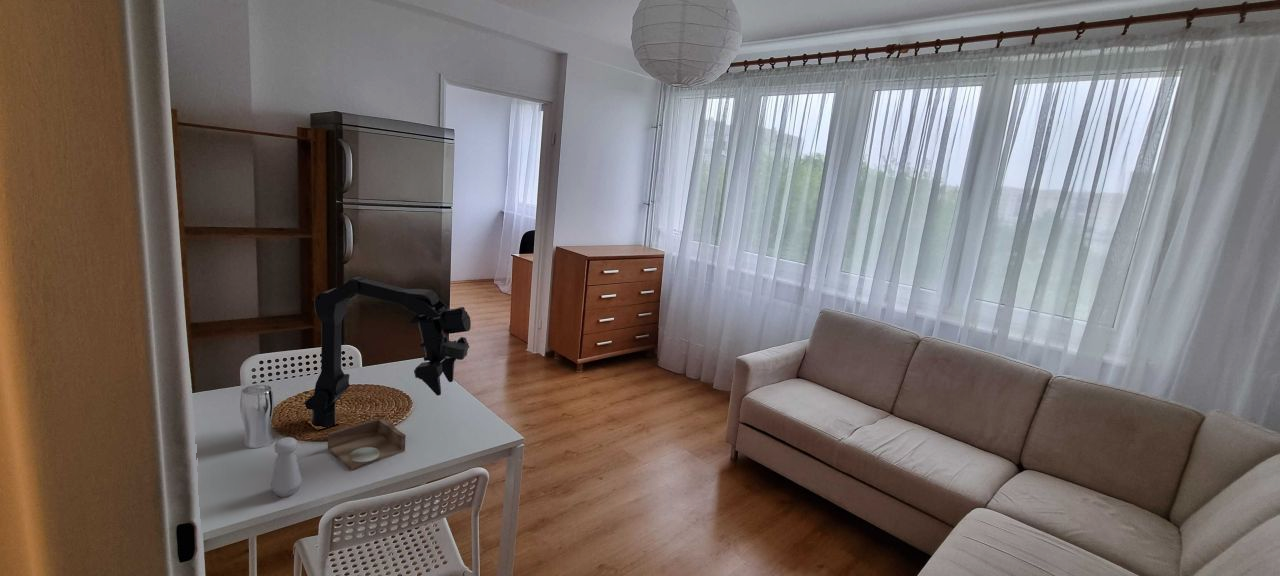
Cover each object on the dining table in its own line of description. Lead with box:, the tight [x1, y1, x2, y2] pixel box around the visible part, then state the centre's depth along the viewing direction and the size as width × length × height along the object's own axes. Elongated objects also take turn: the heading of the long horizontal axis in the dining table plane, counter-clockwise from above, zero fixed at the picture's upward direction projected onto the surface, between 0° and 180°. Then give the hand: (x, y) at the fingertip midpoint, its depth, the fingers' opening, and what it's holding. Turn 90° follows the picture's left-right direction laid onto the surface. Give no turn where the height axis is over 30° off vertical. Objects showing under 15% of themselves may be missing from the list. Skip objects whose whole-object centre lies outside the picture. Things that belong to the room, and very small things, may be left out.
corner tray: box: [327, 417, 406, 471], centre depth 140 cm, size 13×14×5 cm
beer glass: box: [239, 383, 275, 449], centre depth 136 cm, size 7×7×15 cm
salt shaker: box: [270, 437, 303, 498], centre depth 119 cm, size 6×6×13 cm
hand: (445, 388), depth 148 cm, fingers open, 9 cm apart
